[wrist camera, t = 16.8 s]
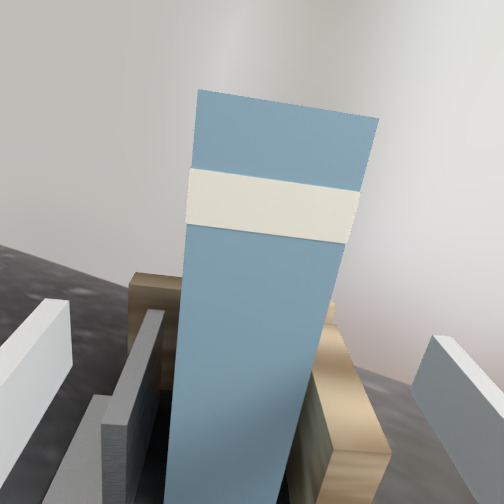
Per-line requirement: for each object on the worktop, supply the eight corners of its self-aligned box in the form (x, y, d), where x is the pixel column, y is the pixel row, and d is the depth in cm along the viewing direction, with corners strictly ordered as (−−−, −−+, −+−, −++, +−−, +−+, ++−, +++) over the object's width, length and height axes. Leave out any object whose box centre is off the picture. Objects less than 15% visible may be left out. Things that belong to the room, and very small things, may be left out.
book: (264, 549, 21) (381, 119, 12) (159, 545, 21) (196, 89, 11) (255, 411, 30) (317, 109, 21) (182, 406, 30) (214, 92, 21)
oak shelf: (347, 559, 21) (398, 439, 17) (66, 548, 20) (54, 413, 16) (305, 385, 34) (329, 294, 30) (133, 370, 33) (135, 272, 29)
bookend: (124, 540, 21) (126, 425, 17) (28, 536, 20) (11, 416, 17) (159, 403, 30) (164, 310, 26) (94, 398, 29) (91, 302, 26)
